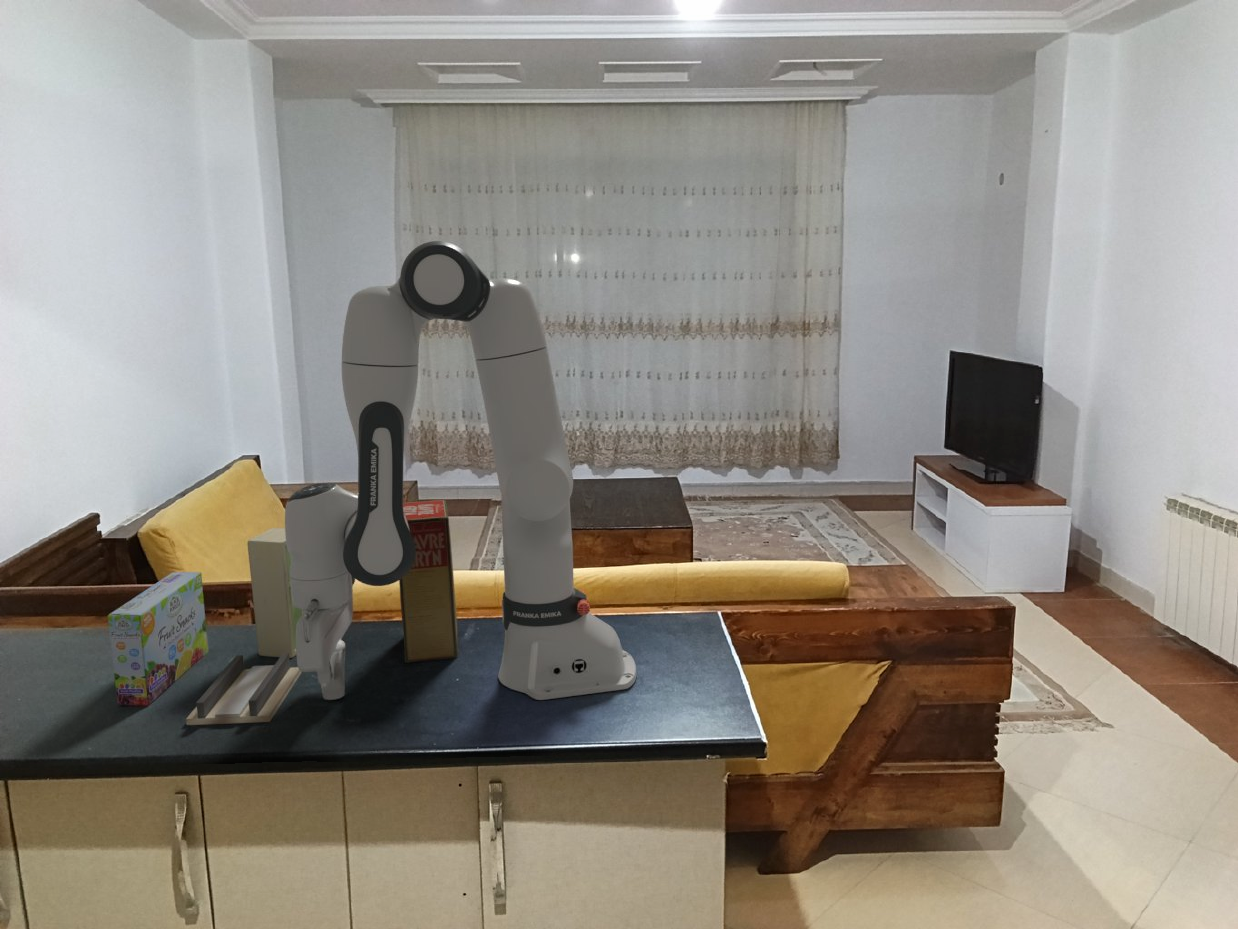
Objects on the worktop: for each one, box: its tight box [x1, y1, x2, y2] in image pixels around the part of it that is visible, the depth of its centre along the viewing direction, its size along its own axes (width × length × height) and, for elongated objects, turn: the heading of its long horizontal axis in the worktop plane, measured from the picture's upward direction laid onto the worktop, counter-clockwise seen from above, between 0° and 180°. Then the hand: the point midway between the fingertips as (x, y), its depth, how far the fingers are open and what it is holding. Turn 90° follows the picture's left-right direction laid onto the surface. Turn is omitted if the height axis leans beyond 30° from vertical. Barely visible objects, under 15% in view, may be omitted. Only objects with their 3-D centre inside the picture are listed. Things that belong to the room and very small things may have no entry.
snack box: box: [107, 571, 209, 707], centre depth 150 cm, size 21×6×15 cm, turn 0°
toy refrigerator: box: [247, 527, 303, 659], centre depth 160 cm, size 8×7×21 cm
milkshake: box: [320, 639, 346, 701], centre depth 143 cm, size 4×5×10 cm
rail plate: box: [185, 653, 302, 726], centre depth 143 cm, size 12×17×4 cm
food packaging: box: [398, 499, 459, 663], centre depth 160 cm, size 13×9×25 cm
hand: (329, 674), depth 143 cm, fingers closed on milkshake, 4 cm apart
